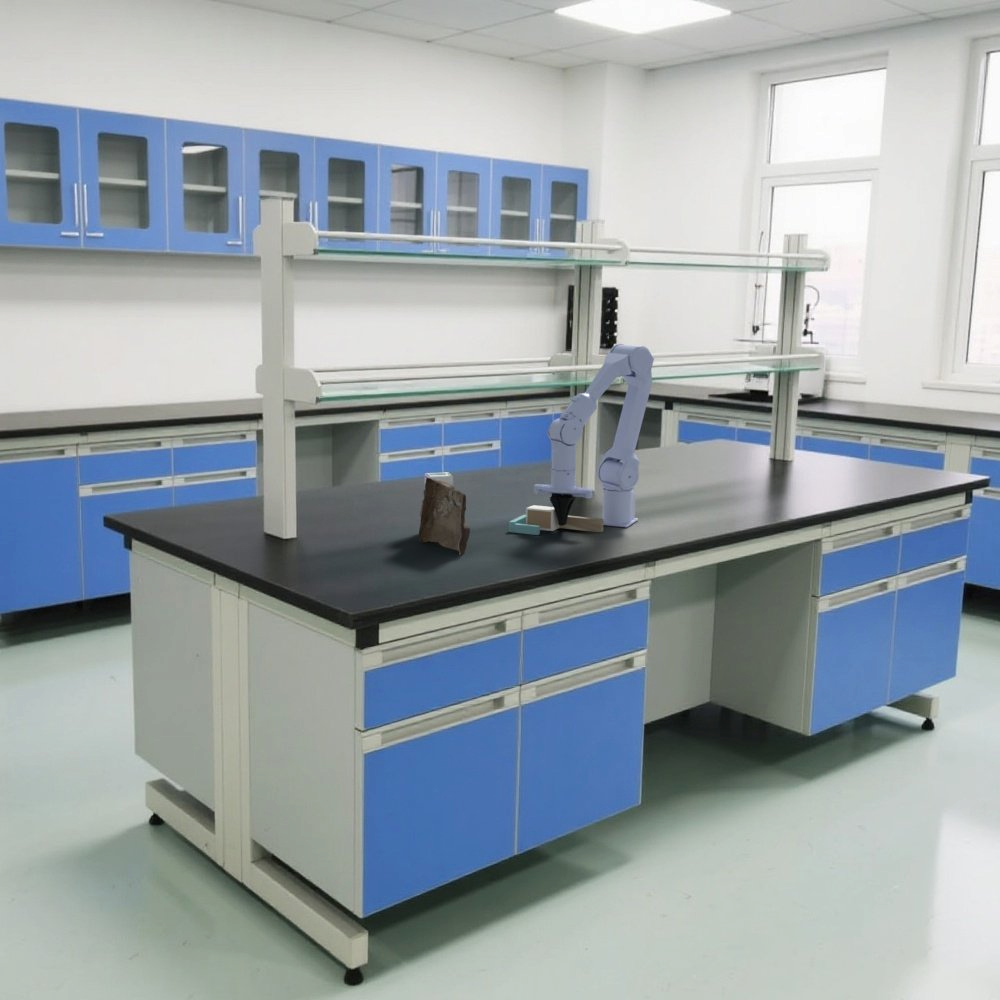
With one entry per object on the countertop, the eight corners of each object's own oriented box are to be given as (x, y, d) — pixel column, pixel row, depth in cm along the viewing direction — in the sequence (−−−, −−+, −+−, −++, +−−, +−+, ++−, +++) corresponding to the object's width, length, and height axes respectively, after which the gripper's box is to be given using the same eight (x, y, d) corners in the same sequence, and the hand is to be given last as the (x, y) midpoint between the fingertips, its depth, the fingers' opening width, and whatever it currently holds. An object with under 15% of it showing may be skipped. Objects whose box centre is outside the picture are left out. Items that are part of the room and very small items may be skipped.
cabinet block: (533, 525, 273) (533, 505, 272) (559, 527, 270) (559, 507, 269) (525, 528, 268) (525, 508, 268) (552, 531, 266) (552, 510, 265)
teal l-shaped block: (524, 524, 274) (524, 514, 273) (552, 527, 271) (553, 517, 270) (508, 531, 265) (508, 521, 265) (537, 535, 262) (537, 524, 262)
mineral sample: (418, 542, 254) (418, 477, 251) (432, 540, 257) (433, 475, 254) (459, 557, 241) (460, 489, 238) (474, 555, 243) (475, 487, 240)
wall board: (527, 522, 275) (527, 511, 274) (603, 531, 267) (603, 519, 266) (524, 524, 274) (524, 512, 273) (601, 532, 265) (601, 520, 265)
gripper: (529, 469, 264) (528, 524, 266) (586, 474, 258) (584, 531, 260) (540, 464, 270) (539, 519, 273) (596, 469, 264) (595, 525, 267)
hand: (562, 524), depth 267 cm, fingers closed
